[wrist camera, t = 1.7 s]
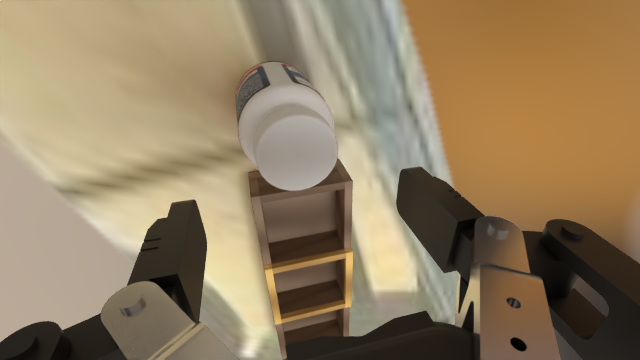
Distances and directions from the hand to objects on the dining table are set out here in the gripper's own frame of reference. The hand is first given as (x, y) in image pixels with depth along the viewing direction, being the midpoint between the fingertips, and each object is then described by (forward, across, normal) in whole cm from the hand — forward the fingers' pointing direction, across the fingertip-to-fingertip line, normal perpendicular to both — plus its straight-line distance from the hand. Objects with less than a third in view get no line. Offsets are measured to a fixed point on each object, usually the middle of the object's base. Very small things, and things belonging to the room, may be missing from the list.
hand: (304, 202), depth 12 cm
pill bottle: (+12, 0, -1) cm, 12 cm away
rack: (+12, -1, +15) cm, 20 cm away
